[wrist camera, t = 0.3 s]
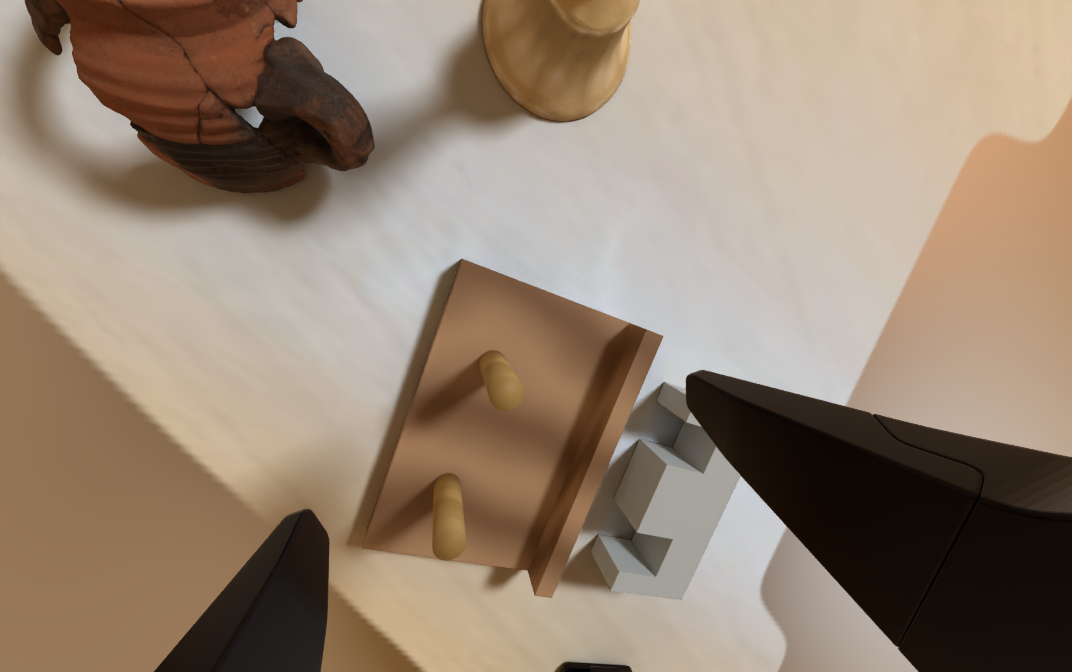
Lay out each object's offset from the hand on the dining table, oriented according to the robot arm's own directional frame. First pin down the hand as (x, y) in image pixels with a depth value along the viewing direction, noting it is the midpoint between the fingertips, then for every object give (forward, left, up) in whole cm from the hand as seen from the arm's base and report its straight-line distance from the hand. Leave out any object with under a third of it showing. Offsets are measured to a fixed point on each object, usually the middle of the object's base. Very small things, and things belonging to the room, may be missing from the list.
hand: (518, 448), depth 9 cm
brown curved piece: (+7, +13, -15) cm, 21 cm away
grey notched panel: (-6, -17, -15) cm, 24 cm away
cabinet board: (-5, -4, -15) cm, 16 cm away
